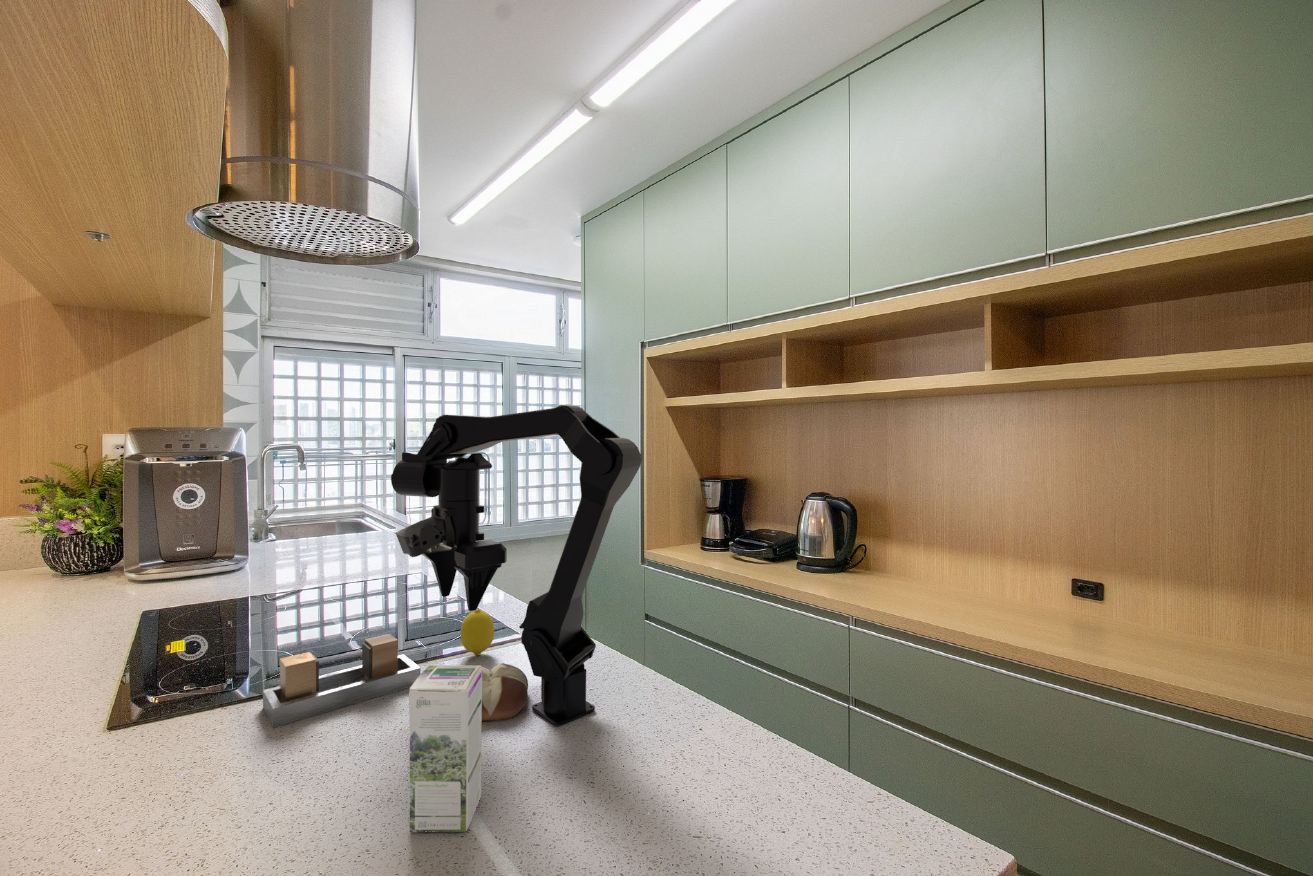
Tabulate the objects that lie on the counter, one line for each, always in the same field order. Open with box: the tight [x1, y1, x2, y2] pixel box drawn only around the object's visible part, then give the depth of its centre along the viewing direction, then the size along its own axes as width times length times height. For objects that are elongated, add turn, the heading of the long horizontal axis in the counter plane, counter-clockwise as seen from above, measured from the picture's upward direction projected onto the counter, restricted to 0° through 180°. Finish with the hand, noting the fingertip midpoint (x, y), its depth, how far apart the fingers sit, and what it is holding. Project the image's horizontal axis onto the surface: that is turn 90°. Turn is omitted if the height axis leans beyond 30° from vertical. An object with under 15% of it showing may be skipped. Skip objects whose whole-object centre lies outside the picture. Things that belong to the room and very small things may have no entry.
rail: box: [262, 651, 421, 728], centre depth 84 cm, size 7×19×7 cm, turn 133°
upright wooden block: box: [361, 633, 399, 680], centre depth 87 cm, size 4×4×6 cm
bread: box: [481, 662, 529, 722], centre depth 82 cm, size 11×11×5 cm
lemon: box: [460, 608, 495, 656], centre depth 99 cm, size 6×6×8 cm
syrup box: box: [408, 665, 483, 833], centre depth 58 cm, size 6×6×14 cm
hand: (458, 603), depth 86 cm, fingers open, 9 cm apart
